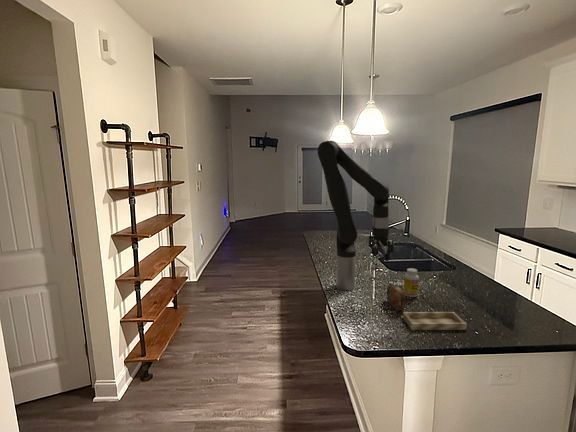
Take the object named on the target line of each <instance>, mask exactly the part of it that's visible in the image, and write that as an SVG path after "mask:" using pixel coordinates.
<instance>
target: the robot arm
mask: <svg viewBox="0 0 576 432" xmlns="http://www.w3.org/2000/svg"><path fill="white" fill-rule="evenodd" d="M317 157H318V159H319V161H320V165H321V168H322V171H323V174H324V180H325V184H326V189H327V195H328V198H329V201H330V205H331V207H332V210H333V212H334V215H335V217H336V221H337V226H338V227H337V229H336V270H335V286H336V289H337V290H341V291H352V290H354V289H355V286H356V278H355V277H356V276H355V275H356V252H357V251H356V247H355V242H356V241H357V239H358V231H357V228H356V225H355V222H354V219H353V216H352V210H351V203H350V197H349V193H348V189H347V184H346V182H345V180H344V178H343V176H342V173H341V172H340V170H339V167H338V165H339V166H340V167H341V168H342V169H343V170H344V171H345V173H347V174H348V176H349V177H350V178H351V179H352V180H353V181H355V182H356V184H358V185H360V186H361V187H363V188H364V190H365V191H367V192H368V193H369V194H370V195H371V196H372V197H373V208H372V211H373V212H372V216H373V217H372V234H371V235H369V236H368V247H369V248H371V254H372V257H377V255H378V249H377V248H378V247H379V248H382V250H383V251H384V261H385V262H389V261H390V260H391V254H392V253H394V251H395V250H394V240H393V239H391V240H390V239H389V235H390V217H389V215H390V214H389V198H390V189H389V186H388V185H387V184H385V183H381V182H380V181H378V179H376V178H375V177H374V175H373V174H372V173H370V172H369V171H368V170H366V169H365V168H364V167H362V166H361V165H360V164H359V163H358V162H356V161H355V160H354V159H353V158H352V157H351V156H349V155H348V154H347V153H346V151H344V149H342V147H341V146H340V145H339V144H338V143H337V141H333V140H324V141H322V142H320V144H318V146H317Z"/></svg>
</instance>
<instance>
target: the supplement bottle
mask: <svg viewBox="0 0 576 432" xmlns="http://www.w3.org/2000/svg"><path fill="white" fill-rule="evenodd" d="M419 281H420V276H419V275H418V269H417V268H412V267H410V268H407V269H406V273H405V274H404V277H403V291H402V292H403V293H404V294H405V297H409V298H416V297H418V296H419V284H420V283H419Z"/></svg>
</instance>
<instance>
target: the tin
mask: <svg viewBox="0 0 576 432" xmlns="http://www.w3.org/2000/svg"><path fill="white" fill-rule="evenodd" d="M406 297H407V296H405V294H404V293H403V291H402V290H401V289H400V287H398V286H397V285H388V286H387V288H386V298H387V301H388V303H389V304H390V305H391V306H392V307H393V309H395V310H396V311H404V310H405V309H406V304H407V303H406V302H407V298H406Z"/></svg>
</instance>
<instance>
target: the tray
mask: <svg viewBox="0 0 576 432" xmlns="http://www.w3.org/2000/svg"><path fill="white" fill-rule="evenodd" d="M402 313H403V314H402V318H403V320H404V321H405V323H406V324H407V325H408V327H409V328H410V329H411V330H412V331H442V330H443V331H466V330H467V326H468V325H467V323H466V321H464V320H463V319H462V317H461V316H459V315H458V314H457V313H456V312H455V311H403V312H402ZM465 329H466V330H465Z"/></svg>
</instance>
